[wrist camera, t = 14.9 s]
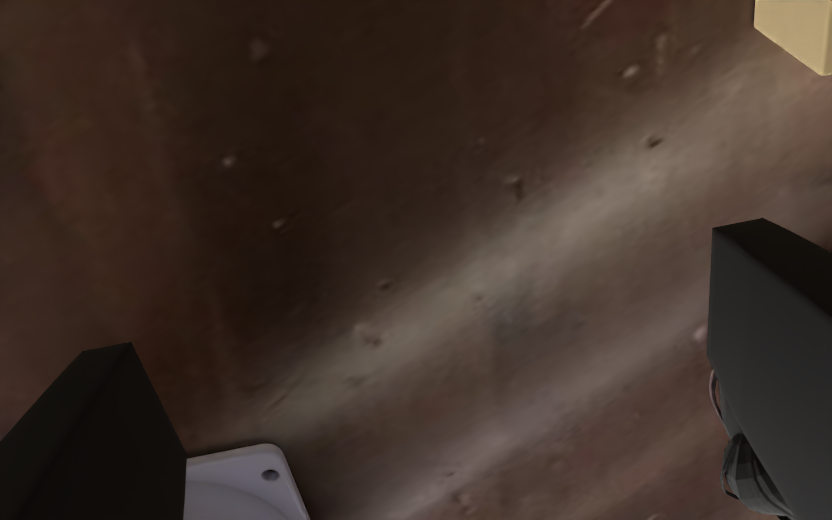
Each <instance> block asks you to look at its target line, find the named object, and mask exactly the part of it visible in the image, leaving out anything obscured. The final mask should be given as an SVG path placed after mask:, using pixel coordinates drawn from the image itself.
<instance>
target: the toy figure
mask: <svg viewBox="0 0 832 520" xmlns="http://www.w3.org/2000/svg"><path fill="white" fill-rule="evenodd" d="M716 380H717V377H716V375H715V372H714V370H712V372H711V376H710V380H709V393H710V397H711V401H712V405H713V407H714V409H715V411H716V413H717V415H718V418H719V419H720V421H721V423H722V424H723V426H724V428H725V429H726V431H727V434H728V436H729V438H730V441H729V442H730V443H729V444H728V445H727V447H726V448H725V450H724V456H723V463H722V470H721V475H720V480H721V486H722V488H723V490H724V487H723V476H724V474H725V478H726V482H727V483H728V485H729V487H730V488H731V489H732V491H733V492H734V493H735V494H736V495H734V494H732V493H730V492H728V491H726V490H724V492H725V493H726V494H728V495H730V496H732V497H734V498H736V499H740V500H741V501H742V503H743V504H744V505H745V506H746V507H748V508H750V509H752V510H754V511H756V512H758V513H763V514H772V515H777V516H778V518H779V519H780V520H797V519H796V518H795V516H794V515H793V513H792V511H791V510H790V508H789V507H788V505H787V503H786V502H785V500H784V499H783V497H782V495H781V494H780V492H779V491H778V489H777V487H776V486H775V484H774V483H773V481H772V479H771V478H770V476H769V474H768V473H767V471H766V470H765V468H764V466H763V465H762V463H761V461H760V460H759V458H758V457H757V455H756V453H755V452H754V450H753V448H752V447H751V445H750V443H749V442H748V440H747V438H746V437H745V435H744V433H743V432H742V430H741V428H740V427H739V425H738V423H737V421H736V419H735V417H734V415H733V412H732V410H731V408H730V406H729V404H728V402H727V400H726V397H725V395H724V393H723V391H722V388H721V386H720V384H719V391H720V406H721V411H720V409H719V407H718V405H717V402H716V397H715V386H716ZM779 515H781V516H779Z"/></svg>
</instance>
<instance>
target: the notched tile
mask: <svg viewBox="0 0 832 520" xmlns="http://www.w3.org/2000/svg"><path fill="white" fill-rule="evenodd" d="M754 27H755V28H756V29H757V30H759V31H760V32H761V33H763V34H764V35H765V36H767V37H768V38H769V39H771V40H772V41H774V42H775V43H776V44H778V45H779V46H780V47H782V48H783V49H785V50H786V51H787V52H789V53H790V54H791V55H793V56H794V57H795V58H797V59H798V60H800V61H801V62H802V63H804V64H805V65H806V66H808V67H809V68H811V69H812V70H813V71H815V72H816V73H817V74H819V75H821V76H825V75H830V74H832V0H755V15H754Z"/></svg>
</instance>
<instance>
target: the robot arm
mask: <svg viewBox="0 0 832 520" xmlns="http://www.w3.org/2000/svg"><path fill="white" fill-rule="evenodd" d="M707 356H708V358H709V361H710V363H711V365H712V368H713V370H714V372H715V375H716V377H717V379H718V382H719V384H720V386H721V388H722V391H723V393H724V395H725V397H726V400H727V402H728V404H729V406H730V408H731V410H732V412H733V415H734V417H735V419H736V421H737V423H738V425H739V427H740V428H741V430H742V432H743V433H744V435H745V437H746V438H747V440H748V442H749V443H750V445H751V447H752V448H753V450H754V452H755V453H756V455H757V457H758V458H759V460H760V461H761V463H762V465H763V466H764V468H765V470H766V471H767V473H768V474H769V476H770V478H771V479H772V481H773V483H774V484H775V486H776V487H777V489H778V491H779V492H780V494H781V495H782V497H783V499H784V500H785V502H786V503H787V505H788V507H789V508H790V510H791V511H792V513H793V515H794V516H795V518H796V519H797V520H832V253H831V252H829V251H827V250H825V249H823V248H821V247H820V246H818V245H816V244H814V243H812V242H810V241H808V240H806V239H804V238H802V237H801V236H799V235H797V234H795V233H793V232H791V231H789V230H787V229H785V228H783V227H781V226H779V225H777V224H775V223H772V222H770V221H768V220H766V219H764V218H761V219H756V220H751V221H746V222H740V223H735V224H730V225H725V226H720V227H715V228H713V231H712V253H711V274H710V296H709V318H708V339H707ZM267 470H275V471H267ZM0 520H310V517H309V515H308V513H307V510H306V508H305V505H304V503H303V500H302V498H301V495H300V493H299V491H298V488H297V486H296V483H295V481H294V478H293V476H292V473H291V471H290V468H289V466H288V464H287V461H286V459H285V456H284V454H283V452H282V450H281V449H280V448H279V447H277V446H275V445H272V444H259V445H254V446H249V447H244V448H239V449H234V450H229V451H224V452H219V453H213V454H208V455H203V456H198V457H193V458H188V459H187V454H186V452H185V450H184V448H183V446H182V444H181V442H180V439H179V437H178V435H177V433H176V431H175V429H174V427H173V425H172V423H171V421H170V419H169V417H168V415H167V413H166V411H165V409H164V407H163V405H162V403H161V401H160V399H159V397H158V395H157V393H156V391H155V389H154V387H153V385H152V383H151V381H150V379H149V377H148V375H147V373H146V371H145V369H144V367H143V365H142V363H141V361H140V359H139V357H138V355H137V353H136V351H135V349H134V347H133V345H132V343H131V342H128V343H123V344H117V345H112V346H107V347H102V348H97V349H92V350H87V351H83V352H82V353H81V354H80V355H79V356H78V357H77V358H76V359H75V360H74V361H73V362H72V363H71V364H70V365H69V366H68V367H67V368H66V369H65V370H64V371H63V372H62V373H61V374H60V375H59V376H58V378H57V379H56V380H55V381H54V382H53V383H52V384H51V385H50V386H49V388H48V389H47V390H46V391H45V392H44V393H43V394H42V395H41V396H40V398H39V399H38V400H37V401H36V402H35V403H34V404H33V406H32V407H31V408H30V409H29V410H28V411H27V412H26V413H25V415H24V416H23V417H22V418H21V419H20V420H19V421H18V423H17V424H16V425H15V426H14V427H13V428H12V429H11V430H10V432H9V433H8V434H7V435H6V436H5V437H4V438H3V439H2V440H1V442H0Z"/></svg>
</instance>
